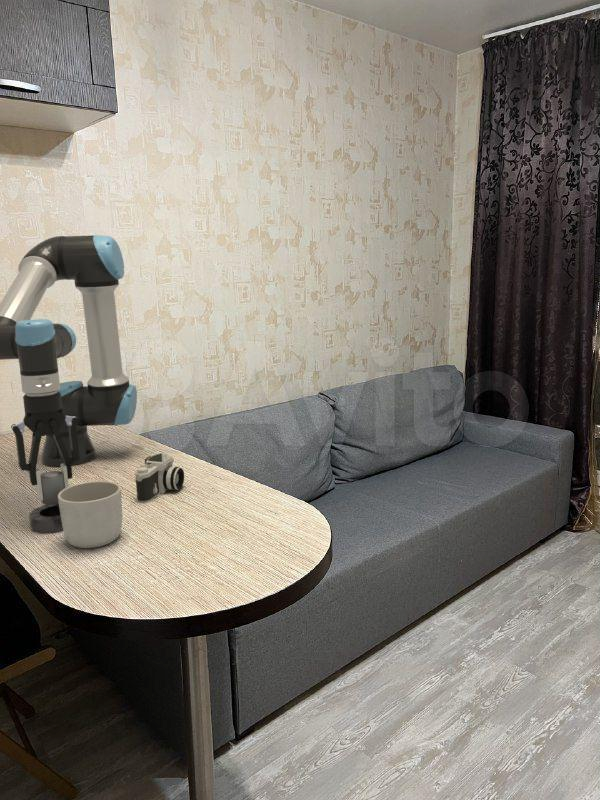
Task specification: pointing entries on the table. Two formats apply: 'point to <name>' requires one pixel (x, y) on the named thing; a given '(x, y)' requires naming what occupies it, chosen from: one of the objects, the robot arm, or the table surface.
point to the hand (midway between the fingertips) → (53, 495)
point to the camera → (157, 477)
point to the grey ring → (46, 519)
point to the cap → (52, 486)
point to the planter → (91, 513)
